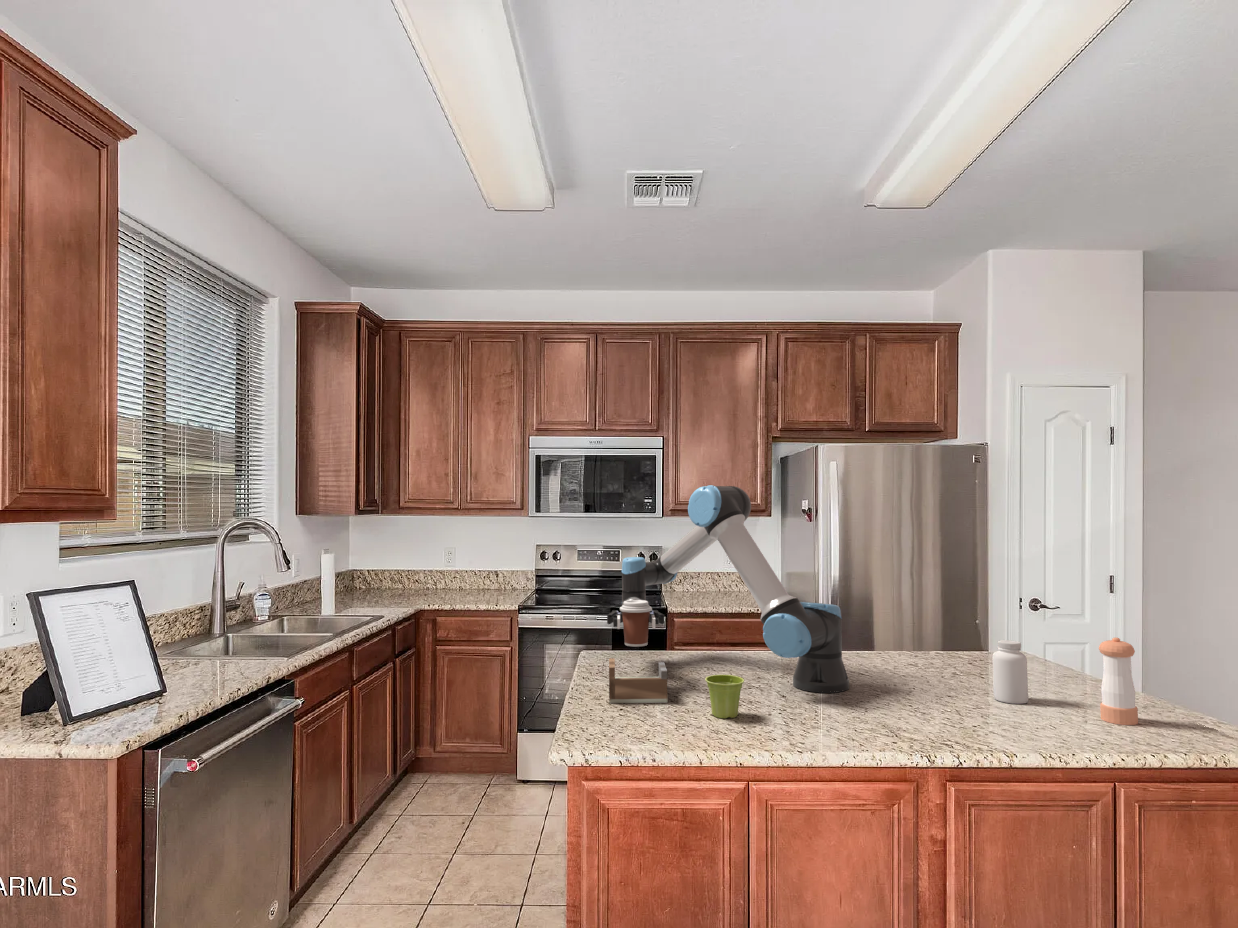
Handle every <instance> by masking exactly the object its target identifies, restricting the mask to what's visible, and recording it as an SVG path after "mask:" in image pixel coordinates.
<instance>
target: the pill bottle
mask: <svg viewBox="0 0 1238 928" xmlns="http://www.w3.org/2000/svg"><path fill="white" fill-rule="evenodd" d="M1021 643H1022V642H1020V641H1017V640H1009V639H999V640H998V641H997V649H998V650H996V651H994V652H993V654H992V657H991V658H992V683H993V684H992V687H993V688H992V689H993V699H994V700H996V701H998V702H1001V703H1006V704H1013V705H1017V704H1018V705H1020V704H1021V705H1022V704H1026V703H1027V704H1028V703H1029V681H1028V680H1029V679H1028V678H1029V677H1028V658H1027V656H1026V655H1025V654H1024V652H1021V651H1022V644H1021Z"/></svg>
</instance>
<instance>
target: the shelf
mask: <svg viewBox="0 0 1238 928" xmlns="http://www.w3.org/2000/svg"><path fill="white" fill-rule="evenodd" d="M615 660H616V659H615V657H614V658H608V690H609V691H608V692H609V693H608V702H609V704H648V703H649V704H651V703H652V704H657V703H659V704H660V703H665V704H667V703H668V669H667V666H666V664H665V661H658V675H655V676H650V675H649V676H645V675H644V676H616V666H615V665H616V661H615Z"/></svg>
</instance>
